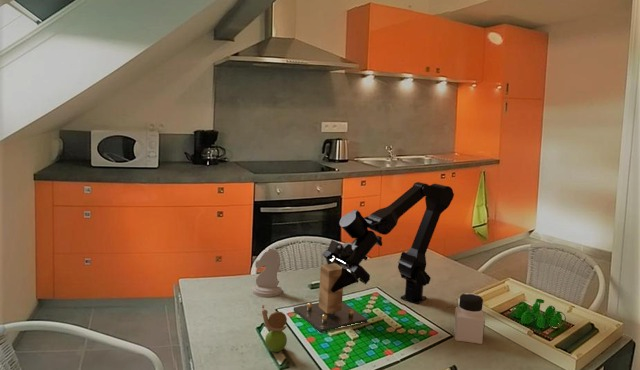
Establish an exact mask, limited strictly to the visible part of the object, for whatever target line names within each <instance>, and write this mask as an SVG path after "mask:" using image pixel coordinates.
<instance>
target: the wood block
mask: <svg viewBox="0 0 640 370" xmlns="http://www.w3.org/2000/svg"><path fill="white" fill-rule="evenodd" d="M319 270H320V271H319V273H320V274H319V289H318V291H319V293H318V303H319V307H320V308H321V309H322V310H323V311H324V312H326V313H332V312H337V311H342V302H343V294H344V288H342V289H340V290H338V291H335V292H332V291H331V289H332V287H333V286H334V284H335V283H336V281H337V280H338V279H339V277H340V276H341V274H342V267H341V266H339V265H337V264H336V263H333V264H328V263H327V264H322V265H321V264H320V267H319Z"/></svg>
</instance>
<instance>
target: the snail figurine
mask: <svg viewBox="0 0 640 370" xmlns="http://www.w3.org/2000/svg"><path fill="white" fill-rule="evenodd" d="M261 306H262V310H261V313H262V318H263V322H264V325H265V327H266V328H267V330H270V331H268V333H267V334H266V336H265V340H264V343H265V347H266V348H267V349H268V350H269V351H271V352H274V353H278V352H281V351H282V350H283V349H285V347H286V346H287V343H288V342H287V341H288V339H287V335H286V333H285V332H284V330H286V329H287V326H286V324H287V322H288V321H287V320H288V318H287V316H286V314H285V313H284V312H281V311H279V310H278V311H273V312H272V313H271V314H270V315H269V317H268V310H267V309H265V305H264V304H262V305H261Z"/></svg>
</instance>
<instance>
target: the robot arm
mask: <svg viewBox="0 0 640 370" xmlns="http://www.w3.org/2000/svg"><path fill="white" fill-rule="evenodd" d="M454 196H455V193H454V191H453V189H452V187H451V186H448V185H443V184H438V183H432V184H428V183H425V182H420V181H418V182H415V183H413V185H412V186H411V187H410V188H409V189H407V190H406V191H405V192H404V193H402V194H401V195H400V196H399V197H398V198H397V199H396V200H394V201H393V202H392V203H391V204H389V205H387V206H386V207H382V208H379V209H377V210H375V211H374V212H371V214H369V216H365V217H364V216H363V215H362V213H361V212H360V211H359V210H357V209H353V210H351V211H350V212H347V213H346V214H344V215H342V216H341V218H340V220H339V223H338V224H339V226H340V227H341V229H343V230H344V232H346V234H347V235H348V236H349V237H350V238H351V239H354V240H352V242H344V243H340V242H338V241H335V240H333V239H332V240H331V241H330V243H329V244H328V248H327V249H325V250H324V252H323V253H322V256H323V257H324V258H325V259H326V260H325V261H326V262H327V264H333V263H336V264H337V265H339V266H341V267H342V274H341V276H340V277H339V279H338V280H337V281H336V283H335V284H334V286H333V287H332V289H331V291H332V292H335V291H338V290H340V289H342V288H343V289H344V288H346V287H348V286H351V285H353V284H355V283H356V284H358V283H359V281H360V282H361V283H363V284H364V285H367V284H368V282H369V281H370V280H371V275H370V274H369V273H368V271H367V270H366V269H365V268H364V267H363V266H361V265H360V264H361V263H362V261H363V260H364V261H367V260H368V259H369V258H368V256H367V255H368V254H369V253H370V252H371V250H372V249H373V248H374V247H375V245H377V246H380V247H382V246H383V241H382V236H380V235H384V236H385V235H388V234H390V233H391V232H392V231H393V229H394V228H395V227H396V226H397V224H398V221H399V219H400V218H401V217H402V216H404V215H405V214H406V213H407V212H408V211H409V210H410V209H411V208H413V207H414V206H415V205H417V203H419V202H420V201H422V199H424V201H425V210H424V214H423V215H422V219H421V222H420V224H419V225H418V229H417V231H416V234H415V237H414V239H413V241H412V245H411V246H410V248H409V249H408V250H407V251H402V252H401V254H400V258H399V260H398V261H397V263H398V266H397V269H398V272H399V273H400V277H401V278H402V279H404V280H405V287H404V288H405V289H404V290H405V292H404V294H403V295H401V296H400V299H402V300H404V301H408V302H411V303H414V304H420V303H421V302H423V301H425V300H427V297H428V296H426V295H424V287H425V286H427V285H429V284H430V281H431V276H430V275H429V274H428V273H427V272H426V268H427V259H426V258H427V257H426V253H427V250H428V248H429V246H430V242H431V240H432V237H433V235H434V233H435V230H436V227H437V225H438V223H439V220H440V217H441V214H442V213H444V211H445V210H447V209H448V208H449V206H450V205H451V203H452V201H453V200H454ZM376 233H377V234H380V235H377V234H376Z"/></svg>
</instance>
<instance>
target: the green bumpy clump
mask: <svg viewBox="0 0 640 370" xmlns="http://www.w3.org/2000/svg"><path fill="white" fill-rule="evenodd" d="M544 303H545V300H544V299H542V298H536V299H535V301H534V303H533V304H532V307H531V309H530V306H529V304H528V303H527V302H525V301H519V302H518V304H517V305H515V306H513V308H512V309H511V315H512V317H513V318H514V316H515V317H516V319H520V318H521V319H520V323H521V324H522V325H523V324H524V325H530V324H531V322H532V320H533V318H537V320H536V327H537V326H538V327H541V328H543V327H544V328H545V326H546V322H547V325H548V324H550V326H553V327H558V328H560V329H561V328H562V325H561V323H564V324H565V322H566V321H567V317H566V315H565V313H563V312H562V311H560V310H559V311H558V310H556V308H555V306H553V305H548V306H547V308H545V311H544V313H540V311H541V310H540V309H541V304H544ZM515 308H516V309H515ZM514 310H515V312H513V311H514ZM514 313H515V315H514ZM562 315H563V316H564V320H563V316H562ZM547 318H548V319H547ZM546 320H547V321H546ZM562 321H563V322H562ZM558 323H559V324H560V325H559V324H558ZM538 327H537V328H538Z"/></svg>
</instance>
